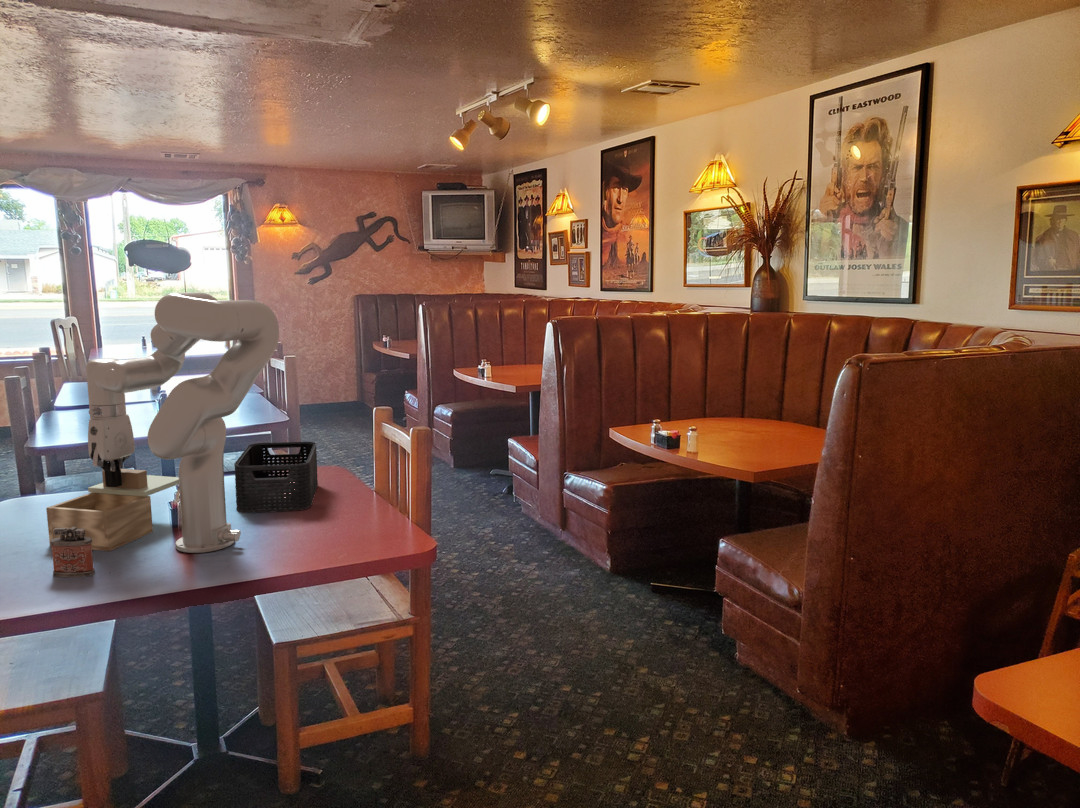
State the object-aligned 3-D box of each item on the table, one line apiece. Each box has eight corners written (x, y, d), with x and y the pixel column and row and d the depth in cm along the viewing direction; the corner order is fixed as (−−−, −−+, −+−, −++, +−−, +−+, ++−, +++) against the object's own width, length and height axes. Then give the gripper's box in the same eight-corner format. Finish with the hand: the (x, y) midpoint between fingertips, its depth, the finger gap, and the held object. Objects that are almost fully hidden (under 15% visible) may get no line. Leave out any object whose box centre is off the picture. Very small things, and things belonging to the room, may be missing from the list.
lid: (184, 482, 198) (182, 462, 197) (145, 496, 184) (144, 475, 183) (130, 478, 201) (128, 458, 200) (88, 492, 187) (86, 471, 186)
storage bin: (310, 511, 206) (308, 462, 204) (234, 514, 202) (231, 465, 200) (319, 484, 234) (317, 440, 232) (252, 486, 230) (249, 442, 228)
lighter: (98, 570, 162) (94, 525, 160) (89, 577, 158) (85, 530, 157) (59, 571, 161) (55, 525, 160) (49, 577, 158) (45, 530, 156)
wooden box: (152, 531, 187) (150, 496, 186) (109, 551, 173) (106, 512, 172) (96, 527, 190) (93, 491, 189) (49, 545, 177) (46, 507, 175)
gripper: (97, 416, 174) (104, 495, 177) (144, 406, 188) (149, 479, 191) (69, 415, 175) (76, 493, 178) (117, 405, 190) (123, 477, 193)
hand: (113, 486), depth 185 cm, fingers closed
